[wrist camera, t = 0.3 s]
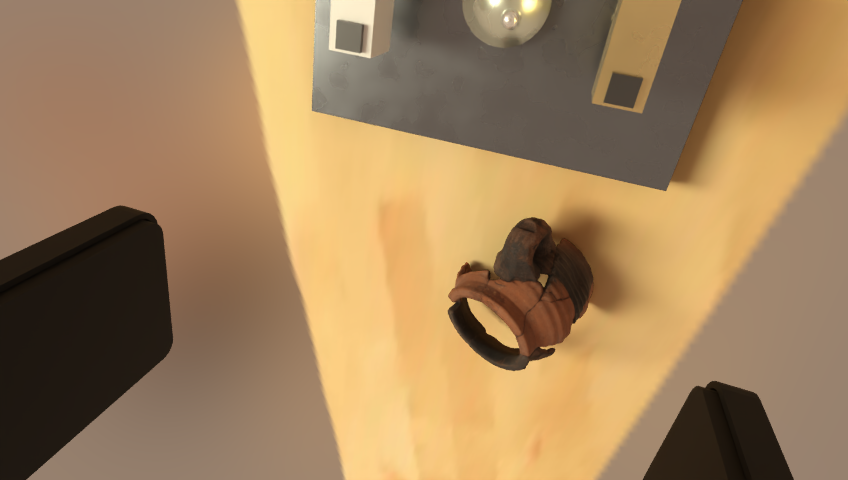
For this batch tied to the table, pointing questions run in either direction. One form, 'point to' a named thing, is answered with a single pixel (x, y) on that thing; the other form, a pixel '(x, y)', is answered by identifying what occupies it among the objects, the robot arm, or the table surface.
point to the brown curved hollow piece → (524, 295)
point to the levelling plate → (525, 81)
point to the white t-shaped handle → (361, 26)
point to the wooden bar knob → (633, 52)
